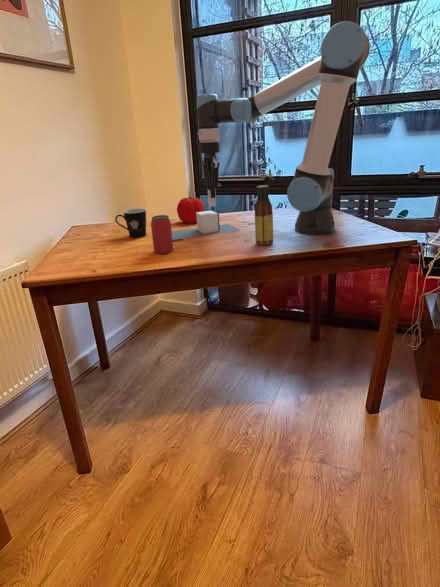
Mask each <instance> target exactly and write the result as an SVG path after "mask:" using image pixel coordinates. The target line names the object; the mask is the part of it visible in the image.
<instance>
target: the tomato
mask: <svg viewBox="0 0 440 587" xmlns="http://www.w3.org/2000/svg"><path fill="white" fill-rule="evenodd" d="M204 211H206V210H205V204H204V202H203V201H202V200H201V199H199V198H198V197H196V196H195V197H194V196H189V197H182V198H181V199H180V200H179V201H178V204H177V207H176V213H177V216H178V219H179V220H180V221H181V222H182V223H184V224H188V225H193V224H197V216H196V212H204Z"/></svg>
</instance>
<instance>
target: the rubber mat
mask: <svg viewBox="0 0 440 587" xmlns="http://www.w3.org/2000/svg"><path fill="white" fill-rule="evenodd" d="M239 231H240V228H237V227H235V226H233V225H231V224H229V223H224V224H220V231H217V232H210V233H202V232H200V231H199V230H197V227H194V228H187V229H180V230H179V229H178V230H172V241H173V243H174V242H179V241H184V239H191V238H197V237H198V238H199V237H205V236H210V235H219V234H225V233H231V232H239Z"/></svg>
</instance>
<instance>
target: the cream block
mask: <svg viewBox="0 0 440 587" xmlns="http://www.w3.org/2000/svg"><path fill="white" fill-rule="evenodd" d="M196 216H197V223H196V225H197V226H196V228H197V230H199V231H200V232H202V233H210V232H217V231H220V225H221V224H220V213H218V212H216V211H215V210H204V212H196Z"/></svg>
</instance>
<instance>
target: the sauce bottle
mask: <svg viewBox="0 0 440 587" xmlns="http://www.w3.org/2000/svg"><path fill="white" fill-rule="evenodd" d="M269 188H270V187H269V185H268V184H267V185H266V184H263V185H257V186H256V193H257V196H256V197H257V198H256V199H257V200H256V202H255V204H254V232H255V234H254V235H255V243H256V245H258V246H265V247H266V246H270V245H273V244H274V215H273V205H272V203H271V200H270V199H269V198H270V197H269V190H270V189H269Z"/></svg>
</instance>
